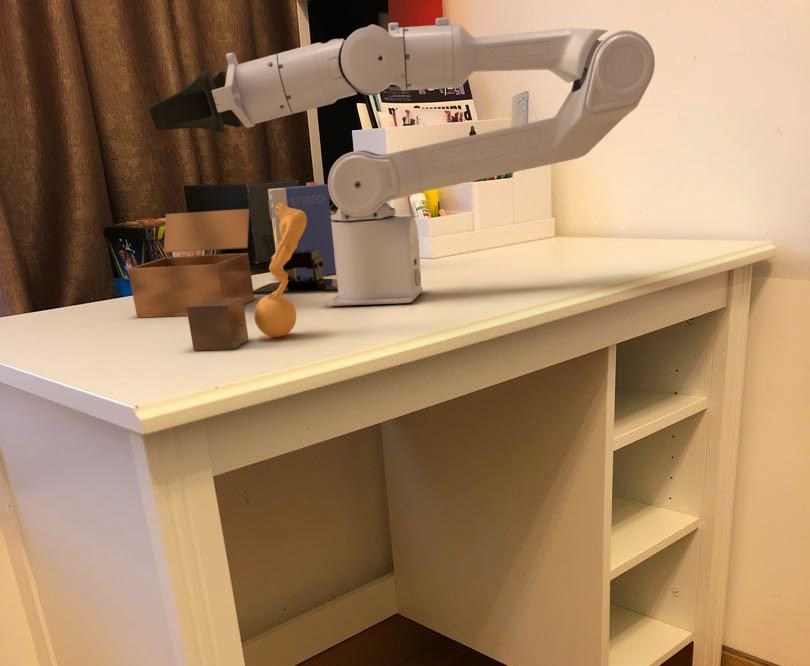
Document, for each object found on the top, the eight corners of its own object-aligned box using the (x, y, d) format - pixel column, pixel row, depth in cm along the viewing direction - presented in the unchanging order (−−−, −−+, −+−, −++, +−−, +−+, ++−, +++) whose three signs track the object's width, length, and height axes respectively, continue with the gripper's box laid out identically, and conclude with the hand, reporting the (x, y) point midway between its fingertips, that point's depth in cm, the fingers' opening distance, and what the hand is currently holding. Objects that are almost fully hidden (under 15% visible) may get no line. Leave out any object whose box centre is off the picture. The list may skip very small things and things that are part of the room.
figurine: (265, 329, 88) (249, 202, 83) (325, 325, 88) (311, 198, 83) (248, 347, 81) (228, 209, 76) (313, 343, 80) (297, 204, 75)
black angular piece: (359, 283, 114) (356, 245, 112) (343, 293, 107) (339, 253, 105) (270, 285, 117) (266, 249, 115) (249, 295, 110) (244, 256, 108)
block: (248, 340, 84) (242, 297, 82) (234, 349, 80) (227, 305, 79) (209, 341, 85) (203, 299, 83) (193, 350, 81) (186, 307, 79)
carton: (137, 317, 101) (127, 269, 98) (172, 302, 109) (164, 257, 107) (225, 314, 98) (217, 264, 96) (254, 298, 107) (248, 252, 105)
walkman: (330, 271, 125) (321, 181, 120) (336, 273, 123) (327, 181, 118) (277, 278, 123) (265, 186, 118) (281, 280, 120) (270, 187, 115)
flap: (165, 214, 107) (167, 215, 107) (163, 251, 107) (164, 252, 107) (248, 208, 105) (249, 209, 105) (246, 247, 105) (247, 248, 105)
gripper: (282, 43, 96) (165, 75, 97) (264, 38, 83) (129, 75, 84) (301, 113, 99) (187, 142, 100) (285, 119, 86) (155, 153, 88)
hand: (162, 117), depth 93 cm, fingers open, 7 cm apart
